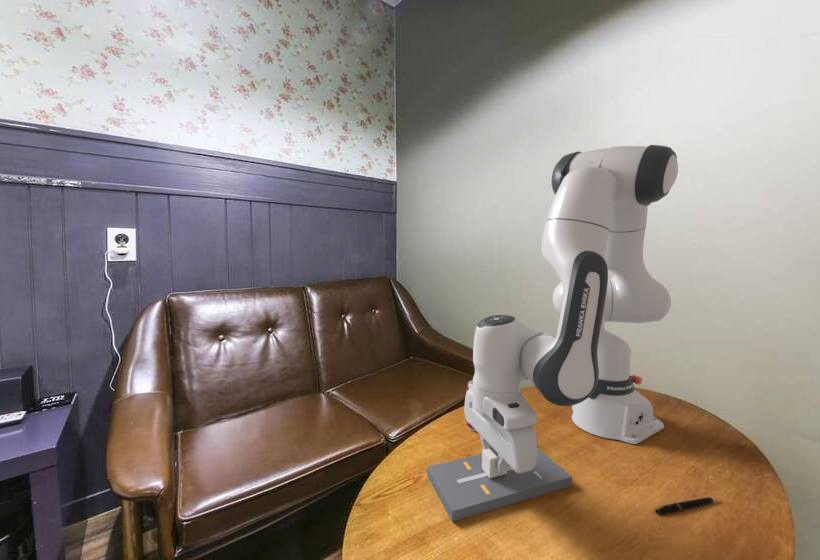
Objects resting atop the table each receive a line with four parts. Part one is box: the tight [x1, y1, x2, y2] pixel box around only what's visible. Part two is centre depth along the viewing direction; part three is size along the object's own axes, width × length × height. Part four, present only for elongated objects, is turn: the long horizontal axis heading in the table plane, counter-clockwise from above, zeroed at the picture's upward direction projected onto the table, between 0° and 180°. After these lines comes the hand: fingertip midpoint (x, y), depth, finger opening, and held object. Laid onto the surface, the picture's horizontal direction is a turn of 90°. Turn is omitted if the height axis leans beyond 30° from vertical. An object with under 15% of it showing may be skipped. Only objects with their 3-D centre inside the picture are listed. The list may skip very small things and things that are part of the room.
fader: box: [481, 447, 508, 478], centre depth 65 cm, size 4×3×4 cm
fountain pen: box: [654, 496, 718, 515], centre depth 58 cm, size 14×1×2 cm, turn 102°
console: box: [426, 446, 573, 523], centre depth 65 cm, size 26×12×2 cm, turn 108°
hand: (494, 463), depth 65 cm, fingers open, 3 cm apart
